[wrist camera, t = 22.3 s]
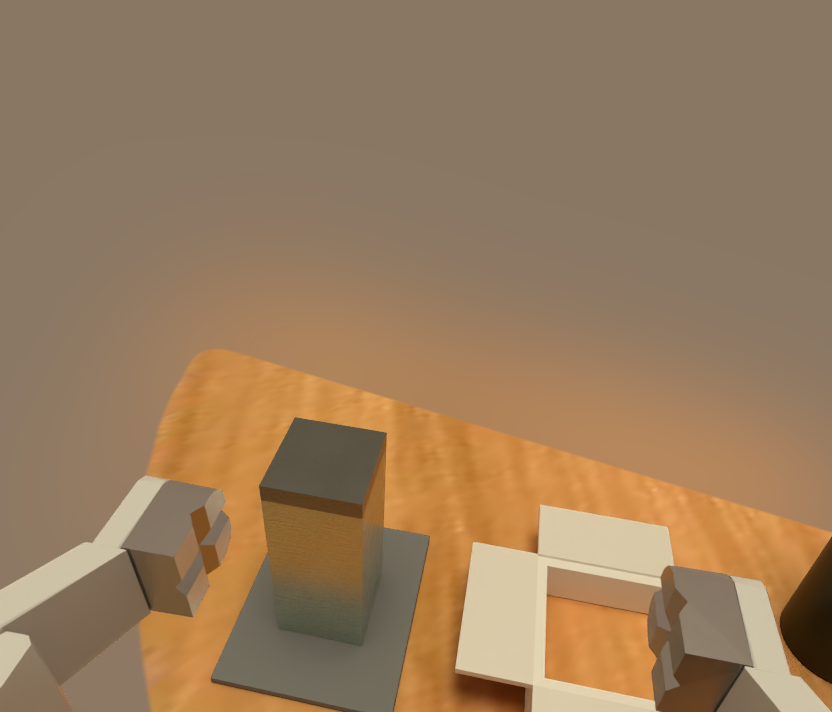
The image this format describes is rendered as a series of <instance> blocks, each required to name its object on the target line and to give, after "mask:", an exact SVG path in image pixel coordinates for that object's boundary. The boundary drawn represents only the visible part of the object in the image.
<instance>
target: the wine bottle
mask: <svg viewBox="0 0 832 712" xmlns="http://www.w3.org/2000/svg"><path fill="white" fill-rule="evenodd" d="M780 624H781V630H782V633H783V636H784V639H785V641H786V643H787V644H788V646H789V648H790V649H791V651H792V652H793V653H794V655H795V656H796V657H797V658H798V659H799V660H800V661H801V662H802V663H803V664H804V665H805V666H806V667H807V668H809V669H810V670H811V671H812V672H814V673H815V674H817V675H818V676H820V677H821V678H823V679H825V680H827V681H829V682H831V683H832V537H831V539H830V540H829V542H828V543H827V545H826V546H825V548H824V549H823V551H822V552H821V554H820V555H819V557H818V558H817V560H816V561H815V563H814V564H813V566H812V567H811V569H810V570H809V572H808V573H807V575H806V576H805V578H804V579H803V581H802V582H801V584H800V585H799V587H798V588H797V590H796V591H795V593H794V594H793V596H792V597H791V599H790V600H789V602H788V603H787V605H786V606H785V608H784V609H783V611H782V614H781V619H780Z"/></svg>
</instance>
